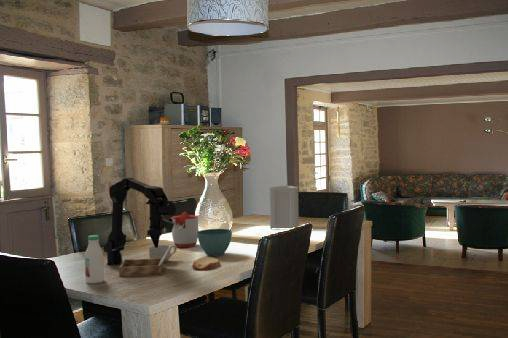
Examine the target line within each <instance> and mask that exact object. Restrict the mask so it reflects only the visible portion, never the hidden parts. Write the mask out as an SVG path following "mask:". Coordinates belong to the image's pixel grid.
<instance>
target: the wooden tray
mask: <svg viewBox="0 0 508 338" xmlns="http://www.w3.org/2000/svg"><path fill="white" fill-rule="evenodd" d="M162 259H163V258H156V259H150V258H137V259H136V258H134V259H133V258H132V259H131V258H130V259H123V261H122V262H121V264H120V265H119V268H118V271H119V277H129V276H130V277H132V276H134V277H135V276H136V277H137V276H157V275H158V276H159V275H161V273H162V271H163V268H164V262H162V264H161V265H160V263H161V261H162Z"/></svg>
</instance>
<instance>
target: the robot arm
mask: <svg viewBox="0 0 508 338" xmlns="http://www.w3.org/2000/svg"><path fill="white" fill-rule="evenodd" d="M131 189H132V190H134V191H136V192H139V193H141V194H143V196H144V197H145V198H146V199H147V201H146V202H145V204H146V205H148V206H149V210H148V211H149V217H148V220H149V227H148V230H147V233H146V235H147V236H148V237H150V240H151V241H152V244H153V246H155V248H158V245H160V244H159V242H160V237H161V236H162V235H163V233H164V231H163V230H165V229H168V230H169V231H172V229H173V227H174V224H175V223H174V222H173V220H172V218H171V217H173V216H175V214H176V211H177V207H176V204H174V202H173V200H169V198H168V197H167V195H166V193H165V191H164V188H162V187H160V186H157V185H149V184H147V183H144V182H141V181H140V180H137V179H135V178H133V177H124V178H123V179H121V180H120V181H118V182H116V183H115V184H111V186H109V189H108V191H109V193H108V194H109V198H110V200H111V201H112V211H111V213H112V214H111V215H112V216H111V230H110V231H111V232H110V233H109V235H108V237H107V242H106V244H105V245H104V246H103V248H102V249H103V253H106V255H107V257H106V258H107V259H106V261H107V263H106V265H108V266H109V265H121V264H122V263H123V253H122V251H124V250H125V245H126V243H127V234H125V233H124V232H123V216H124V202H125V200H126V198H127V196H128V192H129V191H130V190H131ZM164 216H169V218H168V219H165V218H164Z"/></svg>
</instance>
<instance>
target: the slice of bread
mask: <svg viewBox="0 0 508 338" xmlns="http://www.w3.org/2000/svg"><path fill="white" fill-rule="evenodd" d="M219 266H220V260H219V259H217V258H216V257H212V256H203V257H200V258H198V259H196V260H194V261H192V265H191V268H192V269H193V270H194V271H198V272H205V271H208V270H213V269H216V268H218V267H219Z"/></svg>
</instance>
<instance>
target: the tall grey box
mask: <svg viewBox="0 0 508 338" xmlns="http://www.w3.org/2000/svg"><path fill="white" fill-rule="evenodd" d="M268 190H269V194H268V195H269V228H271V229H270V230H273V229H272V228H293V227H297V226H299V225H300V223H299V218H300V217H299V187H298V186H293V185H281V186H270V187H269V188H268Z"/></svg>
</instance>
